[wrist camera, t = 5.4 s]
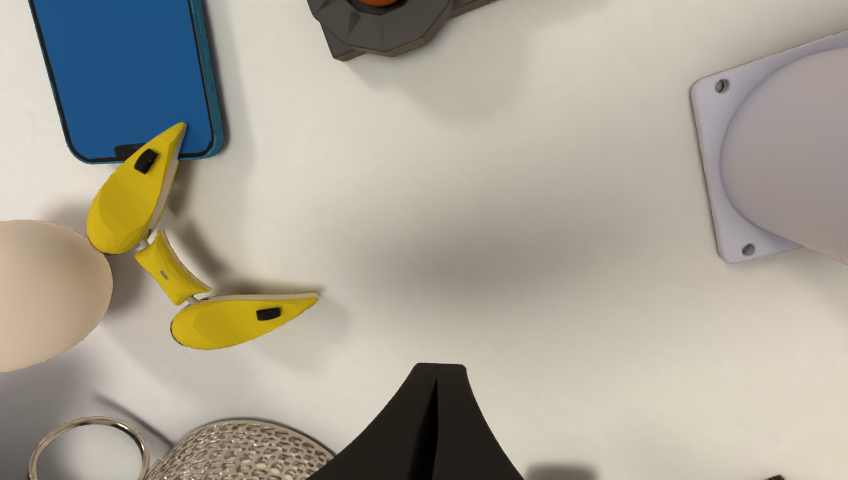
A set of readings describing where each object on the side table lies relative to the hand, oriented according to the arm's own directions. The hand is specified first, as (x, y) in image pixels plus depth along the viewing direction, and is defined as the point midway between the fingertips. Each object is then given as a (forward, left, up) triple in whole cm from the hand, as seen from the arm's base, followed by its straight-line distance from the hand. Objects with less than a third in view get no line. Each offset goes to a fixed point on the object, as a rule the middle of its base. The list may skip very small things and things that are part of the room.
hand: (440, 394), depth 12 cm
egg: (+18, -6, -9) cm, 21 cm away
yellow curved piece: (+10, -5, -10) cm, 15 cm away
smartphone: (+9, -17, -10) cm, 21 cm away
